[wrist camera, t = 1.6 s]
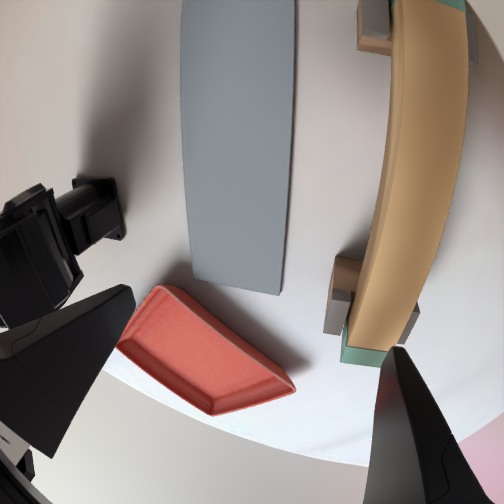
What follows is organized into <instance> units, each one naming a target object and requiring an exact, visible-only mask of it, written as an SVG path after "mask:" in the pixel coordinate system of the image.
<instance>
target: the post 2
mask: <svg viewBox="0 0 504 504" xmlns="http://www.w3.org/2000/svg"><path fill="white" fill-rule="evenodd" d="M362 265H363V261H361V260H355V259H349V258H343V257H337V256H335V261H334V266H333V271H332V275H331V280H330V285H329V291H328V300H327V308H326V315H325V323H324V330H323V333H327V334H333V335H339V336H340V334H341V331H342V328H343V325H344V324H345V321H346V318H347V314H348V313H349V311H350V308H351V304H352V301H353V298H354V294H355V291H356V287H357V284H358V280H359V276H360V273H361V269H362ZM419 314H420V310H419V306H418V302H416V305H415V307H414V309H413V311H412V313H411V316H410V318H409V320H408V322H407V324H406V326H405V328H404V330H403V332H402V334H401V336H400V338H399V340H398V342H397V344H405V342H406V340H407V338H408V336H409V334H410V332H411V330H412V328H413V326H414V325H415V323H416V320H417V318H418V316H419Z"/></svg>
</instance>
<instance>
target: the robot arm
mask: <svg viewBox="0 0 504 504" xmlns="http://www.w3.org/2000/svg"><path fill="white" fill-rule="evenodd" d="M72 186H73V190H71V191H69V192H67V193H66V194H64V195H62V196H60V197H58V198H56V199H55V198H54V195H53V194H54V191H53V188H50V189H47V190H46V188H45V187H44V186H43V185H42V184H41V183H39V184H37V185H35V186H33V187H31V188H29V189H27V190H25V191H23V192H22V193H20V194H18V195H17V196H15V197H14V198H12V199H11V200H9V201H7V202H6V203H5V205H4V208H3V211H2V212H0V328H8V331H5V332H2V333H0V504H52V503H51V502H50V501H49V500H48V499H47V498H46V497H45V496H44V495H43V494H41V493H40V492H39V491H38V490H37V489H36V488H35V487H34V486H33V485H32V484H31V483H30V482H31V481H32V479H33V478H34V476H35V471H34V465H33V457H32V451H31V450H30V449H29V447H30V445H31V446H32V447H34V448H35V449H37V450H38V451H40V452H41V453H42V454H44V455H45V456H47V457H48V458H50V459H52V458H53V457H54V455H55V453H56V451H57V449H58V447H59V445H60V443H61V441H62V439H63V437H64V435H65V433H66V431H67V429H68V427H69V426H70V424H71V421H72V420H73V418H74V416H75V414H76V412H77V411H78V409H79V407H80V405H81V403H82V401H83V400H84V398H85V396H86V395H87V393H88V391H89V389H90V387H91V386H92V384H93V383H94V381H95V379H96V377H97V376H98V374H99V372H100V371H101V369H102V367H103V366H104V364H105V363H106V361H107V359H108V358H109V356H110V354H111V353H112V351H113V350H114V348H115V346H116V345H117V343H118V341H119V340H120V338H121V336H122V334H123V332H124V330H125V328H126V326H127V324H128V322H129V320H130V318H131V316H132V314H133V312H134V310H135V308H136V302H135V299H134V295H133V292H132V289H131V287H130V286H127V285H124V284H119V285H117V286H114V287H112V288H109V289H107V290H105V291H102V292H100V293H97V294H95V295H93V296H90V297H88V298H85V299H83V300H81V301H78V302H76V303H74V304H71V305H69V306H66V307H64V308H62V309H60V308H61V307H62V306H63V305H64V304H65V303H66V301H67V300H68V298H69V297H70V295H71V294H72V292H73V291H74V290H75V288H76V287H77V285H78V284H79V282H80V281H81V280H82V278H83V277H84V274H83V272H82V270H80V267H79V265H78V263H77V260H76V258H75V257H76V256H77V255H80V254H81V253H83V252H84V251H85V250H87V249H88V248H89V247H91V246H92V245H94V244H96V243H97V242H98V241H100V240H101V239H102V238H109V239H114V240H119V241H121V240H122V239H123V238H124V237H125V235H124V230H123V225H122V220H121V215H120V209H119V204H118V198H117V192H116V185H115V180H114V179H113V178H111V177H76V178H74V179H72ZM451 433H452V432H451V430H450V428H449V426H448V424H447V422H446V420H445V418H444V416H443V414H442V412H441V410H440V409H439V407H438V405H437V403H436V401H435V399H434V397H433V396H432V394H431V392H430V390H429V389H428V387H427V385H426V383H425V381H424V380H423V378H422V376H421V375H420V373H419V371H418V369H417V368H416V366H415V364H414V363H413V361H412V359H411V358H410V356H409V354H408V353H407V351H406V350H405V348H403V347H398V346H392V347H391V348H390V349H389V351H388V353H387V355H386V357H385V358H384V360H383V362H382V365H381V370H380V377H379V385H378V391H377V398H376V404H375V410H374V423H373V435H372V445H371V455H370V463H369V471H368V477H367V484H366V489H365V495H364V501H363V504H495V503H493V502H492V501H491V500H490V499H489V498H488V497H487V495H486V494H485V492H484V490H483V489H482V487H481V485H480V484H479V481H478V480H477V478H476V477H475V475H474V473H473V471H472V470H471V468H470V466H469V464H468V463H467V461H466V459H465V457H464V456H463V453H462V452H461V450H460V448H459V446H458V444H457V442H456V440H455V438H454V436H453V434H451Z"/></svg>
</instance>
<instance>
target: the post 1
mask: <svg viewBox="0 0 504 504" xmlns="http://www.w3.org/2000/svg"><path fill="white" fill-rule="evenodd" d="M465 17H466V26H467V39H468V65H472V64H477V63H478V50H477V35H476V25H475V16H474V14H472V13H470V12H468V11H466V13H465ZM357 50H360V51H366V52H372V53H377V54H382V55H387V56H392V36H391V11H389V0H359V2H358V8H357Z"/></svg>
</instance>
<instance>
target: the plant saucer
mask: <svg viewBox="0 0 504 504" xmlns="http://www.w3.org/2000/svg"><path fill="white" fill-rule="evenodd" d="M115 348H116V349H117V350H119V351H120V352H121V353H122V354H123V355H125V356H126V357H127V358H128V359H129V360H131V361H132V362H133V363H134V364H136V365H137V366H138V367H139V368H141V369H142V370H143V371H144V372H146V373H147V374H148V375H150V376H151V377H152V378H154V379H155V380H156V381H158V382H159V383H160V384H162V385H163V386H165V387H166V388H167V389H169V390H170V391H172V392H173V393H175V394H176V395H178V396H179V397H181V398H182V399H183V400H185V401H186V402H188V403H190V404H191V405H192V406H194V407H196V408H197V409H199V410H200V411H202V412H204V413H205V414H207V415H209V416H218V415H223V414H226V413H230V412H234V411H238V410H241V409H246V408H248V407H253V406H256V405H259V404H263V403H266V402H269V401H272V400H275V399H278V398H281V397H285V396H287V395H290V394H293V393H295V392H296V388H295V386H294V384H293V382H292V381H291V379H290V378H289V377H288V376H287V374H286V373H285V372H284V371H283V370H282V369H281V368H280V367H279V366H278V365H277V364H276V363H274V362H273V361H272V360H270V359H269V358H268V357H266V356H265V355H264V354H262V353H261V352H259V351H258V350H257V349H255V348H254V347H253V346H251V345H250V344H249V343H248V342H246V341H245V340H244V339H242V338H241V337H240V336H238V335H237V334H236V333H235V332H233V331H232V330H231V329H230V328H228V327H227V326H226V325H225V324H223V323H222V322H221V321H220V320H218V319H217V318H216V317H215V316H213V315H212V314H211V313H210V312H209V311H207V310H206V309H205V308H204V307H203V306H201V305H200V304H199V303H198V302H197V301H196V300H194V299H193V298H192V297H191V296H190V295H189V294H187V293H186V292H185V291H184V290H182V289H180V288H177V287H174V286H170V285H164V284H163V285H156V286H155V287H154V288H153V290H152V291H151V292H150V294H149V295H148V296H147V297H146V299H145V300H144V302H143V303H142V304H141V305H140V307H139V308H138V309H137V311H136V312H135V313H134V314H133V316H132V318H131V319H130V320H129V322H128V324H127V326H126V328H125V330H124V332H123V334H122V336H121V338H120V340H119V341H118V343H117V345H116V346H115Z"/></svg>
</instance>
